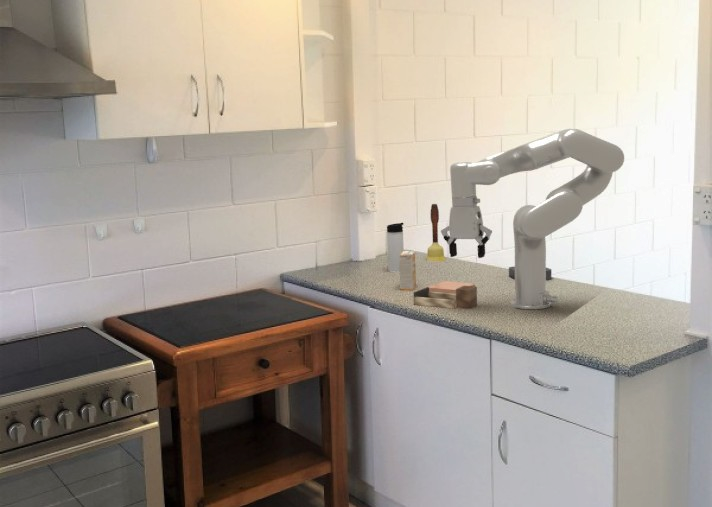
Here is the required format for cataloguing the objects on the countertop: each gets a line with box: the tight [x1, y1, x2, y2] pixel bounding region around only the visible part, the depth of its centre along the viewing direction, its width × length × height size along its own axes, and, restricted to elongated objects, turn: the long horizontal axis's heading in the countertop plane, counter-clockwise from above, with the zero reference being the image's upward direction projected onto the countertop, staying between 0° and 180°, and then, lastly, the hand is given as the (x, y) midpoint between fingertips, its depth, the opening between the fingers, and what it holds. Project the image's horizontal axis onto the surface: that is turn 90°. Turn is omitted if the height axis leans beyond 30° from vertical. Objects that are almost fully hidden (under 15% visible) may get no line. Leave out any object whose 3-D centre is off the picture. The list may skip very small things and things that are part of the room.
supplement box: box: [399, 250, 417, 291], centre depth 283 cm, size 8×5×13 cm, turn 168°
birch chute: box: [413, 286, 456, 309], centre depth 258 cm, size 15×9×4 cm, turn 56°
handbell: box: [425, 203, 447, 262], centre depth 330 cm, size 12×12×25 cm
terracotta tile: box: [428, 280, 476, 294], centre depth 277 cm, size 12×12×2 cm
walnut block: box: [455, 285, 478, 310], centre depth 253 cm, size 4×6×6 cm
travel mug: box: [386, 222, 405, 273], centre depth 312 cm, size 6×7×20 cm
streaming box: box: [508, 266, 552, 281], centre depth 290 cm, size 13×13×4 cm
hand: (467, 256), depth 251 cm, fingers open, 9 cm apart
